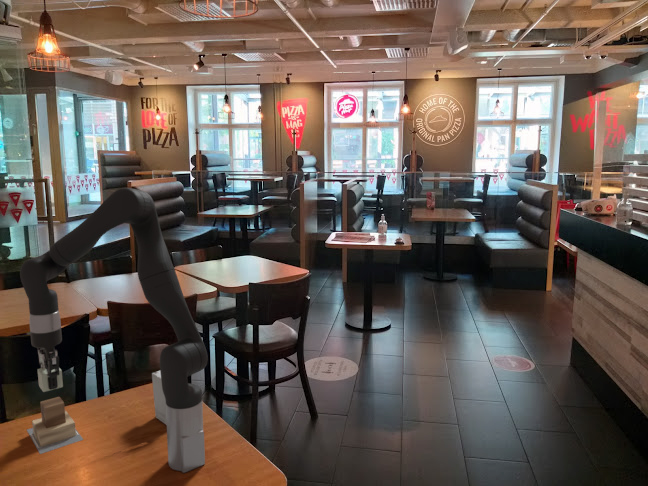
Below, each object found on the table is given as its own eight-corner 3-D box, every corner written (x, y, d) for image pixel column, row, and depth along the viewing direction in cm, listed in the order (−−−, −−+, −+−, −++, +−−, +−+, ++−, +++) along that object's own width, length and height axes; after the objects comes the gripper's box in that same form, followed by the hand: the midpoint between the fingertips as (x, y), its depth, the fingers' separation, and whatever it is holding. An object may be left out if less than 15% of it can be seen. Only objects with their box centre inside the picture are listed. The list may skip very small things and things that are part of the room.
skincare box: (184, 420, 157) (182, 374, 155) (166, 427, 153) (164, 380, 150) (171, 410, 163) (169, 366, 160) (153, 416, 159) (151, 371, 156)
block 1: (63, 386, 144) (61, 370, 143) (43, 392, 141) (41, 375, 140) (58, 380, 148) (56, 364, 147) (38, 385, 145) (37, 369, 144)
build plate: (83, 442, 145) (83, 439, 144) (40, 456, 137) (40, 453, 137) (67, 419, 156) (67, 417, 156) (26, 432, 149) (26, 429, 149)
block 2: (65, 422, 146) (64, 402, 145) (46, 428, 143) (44, 408, 142) (61, 415, 150) (59, 396, 148) (41, 421, 146) (40, 401, 145)
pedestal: (75, 435, 146) (74, 422, 146) (40, 447, 141) (39, 433, 140) (66, 423, 153) (66, 410, 152) (33, 433, 147) (32, 420, 147)
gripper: (67, 331, 138) (72, 390, 141) (53, 318, 149) (58, 373, 152) (36, 337, 134) (42, 398, 137) (24, 323, 144) (29, 380, 147)
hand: (50, 384), depth 144 cm, fingers closed on block 1, 5 cm apart
